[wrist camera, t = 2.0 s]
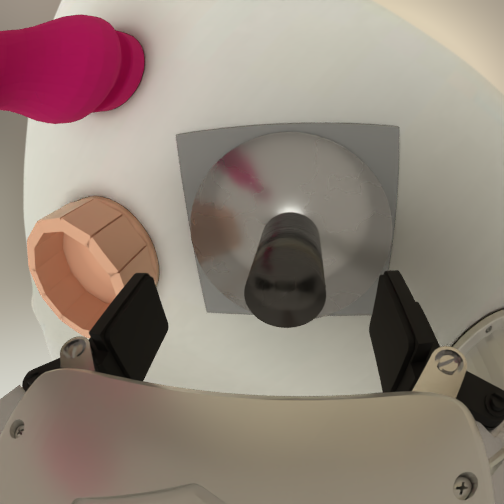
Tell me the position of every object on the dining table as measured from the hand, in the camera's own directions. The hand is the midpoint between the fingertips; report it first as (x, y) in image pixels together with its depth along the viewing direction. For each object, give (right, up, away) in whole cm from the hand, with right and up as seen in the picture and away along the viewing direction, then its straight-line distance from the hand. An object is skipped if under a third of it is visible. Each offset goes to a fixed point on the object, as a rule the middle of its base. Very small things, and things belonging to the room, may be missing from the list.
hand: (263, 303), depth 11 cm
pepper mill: (-11, +15, +4) cm, 19 cm away
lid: (+2, +3, +7) cm, 8 cm away
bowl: (-13, +2, +12) cm, 18 cm away
